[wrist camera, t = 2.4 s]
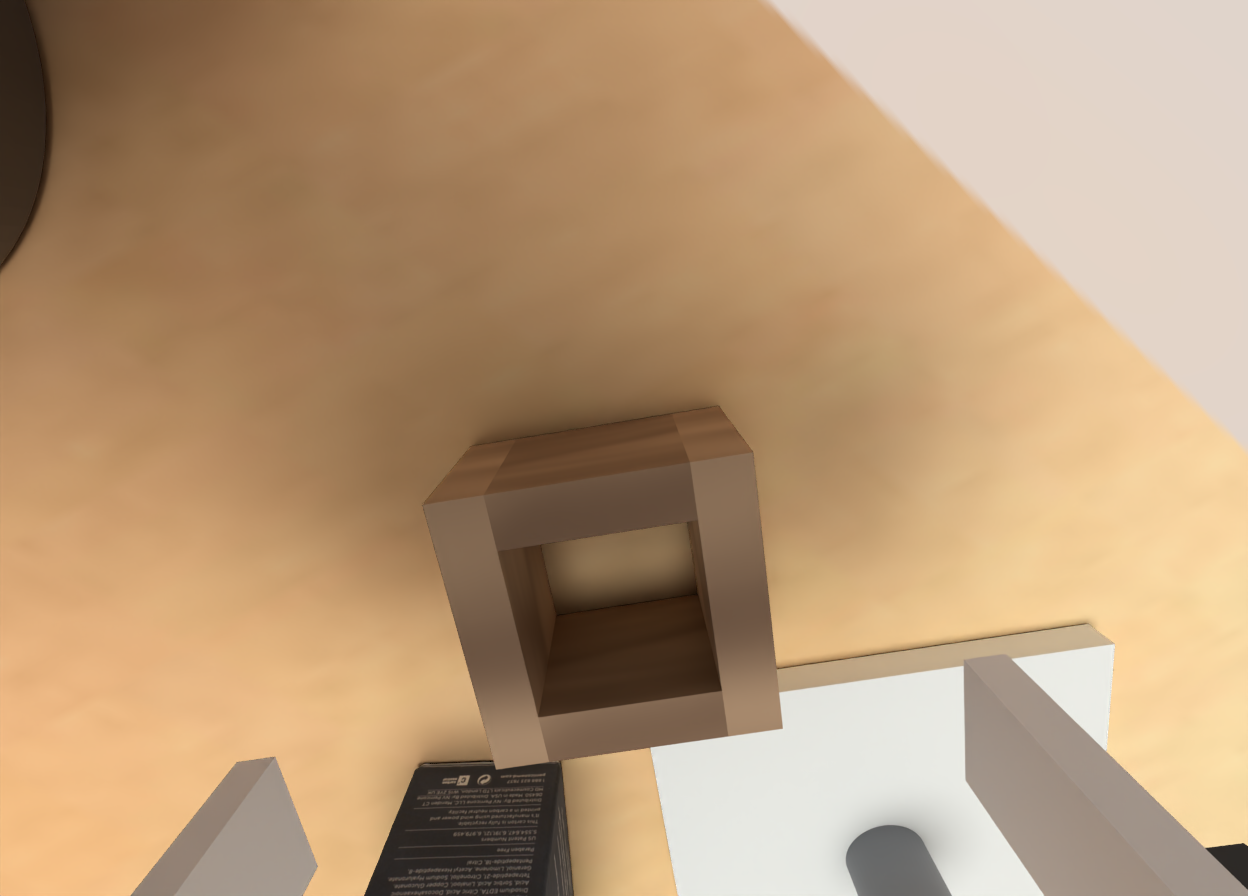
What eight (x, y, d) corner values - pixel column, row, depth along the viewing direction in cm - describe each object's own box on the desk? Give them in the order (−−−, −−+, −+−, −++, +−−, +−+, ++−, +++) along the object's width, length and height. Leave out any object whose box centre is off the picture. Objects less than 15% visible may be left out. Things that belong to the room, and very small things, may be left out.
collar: (470, 446, 19) (422, 505, 15) (718, 406, 19) (752, 452, 14) (522, 658, 22) (496, 769, 17) (745, 625, 21) (782, 728, 16)
